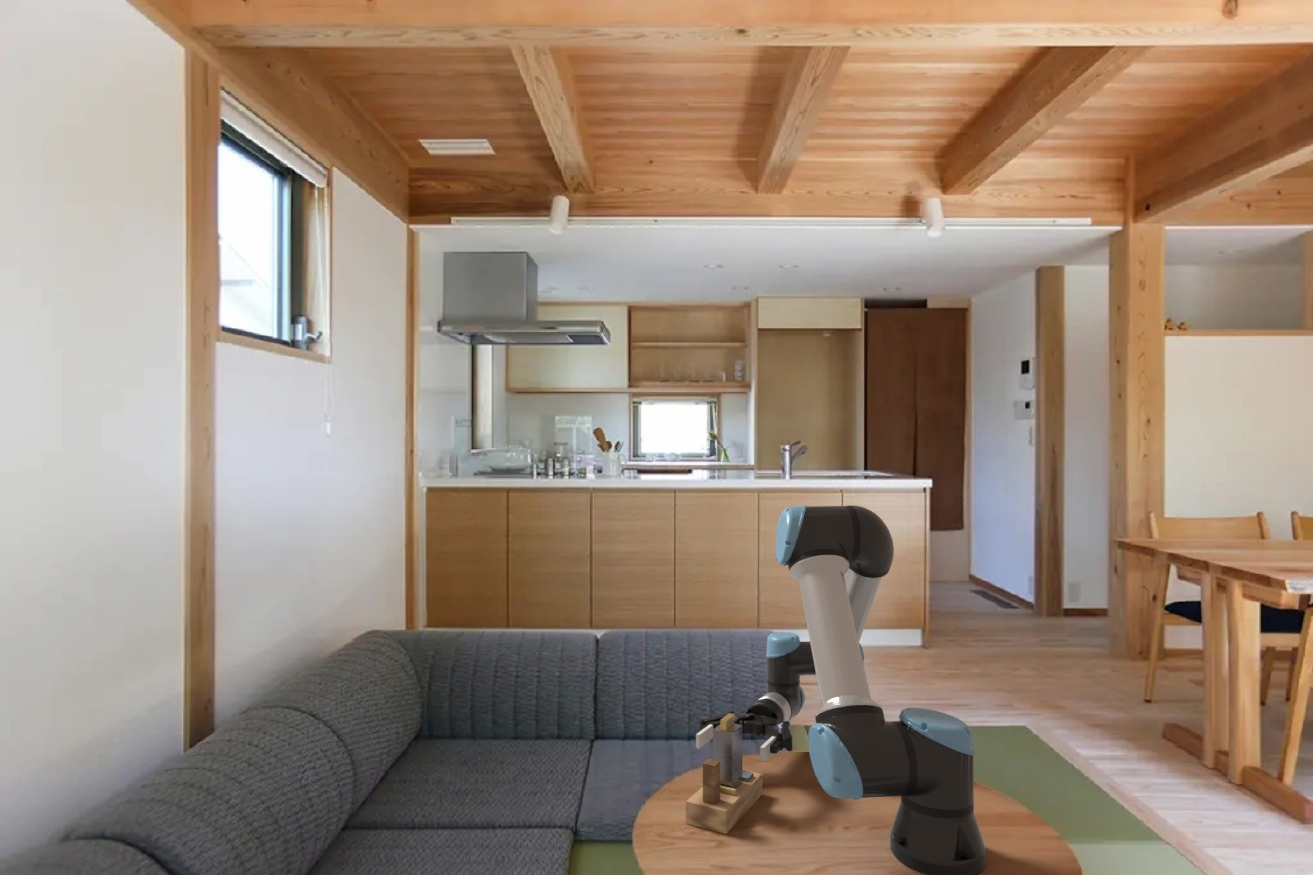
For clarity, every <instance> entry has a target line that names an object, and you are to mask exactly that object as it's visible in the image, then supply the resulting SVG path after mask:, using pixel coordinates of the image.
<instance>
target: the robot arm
mask: <svg viewBox="0 0 1313 875" xmlns="http://www.w3.org/2000/svg"><path fill="white" fill-rule="evenodd" d="M894 548H895V547H894V541H893V537H892V534H891V532H890V530H889V527H888V526H887V525H886V523H885V522H884V521H883V519H882V518H881V517H880V516H879V515H878V514H876V512H873V511H872V510H871V509H868V508H866V507H864V506H860V505H853V504H852V505H824V506H823V505H820V506H819V505H814V506H811V505H805V504H803V505H801V506H788V507H786V508H785V509H783V511H782V512H781V514H780V516H779V519H778V522H777V527H776V536H775V556H776V561H777V563H778V564H779V565H781V566H783V567H786V566H788V572H789V576H790V578H792V580H794V581H796V582H797V583H799V589H800V593H801V594H800V595H801V598H802V600H801V601H802V604H803V611H804V616H805V622H806V626H807V632H808V633H807V634H808V638H809V641H801V640H800V636H799V635H798V634H797V633H793V632H790V631H789V632H786V631H777V632H772V633H770V634H769V635H768V636H767V639H766V652H765V655H766V693H765V694H764V695H763V696H761V697H760V698H758V700H756V701H755V702H753V704H751V705H750V706H748V709H747V710H746V713H744V714H741V715H735V724H739V725H742V735H745V734H748V735H752V734H754V735H755V736H757V737H759V738H764V740H766V741H765V742H764V743H763V744H762V745H761V746H760V747H759V761H760V762H762V763H765V762H766V760H768V758H770V757H771V756H772V755H775V754H778V752H779V751H782V750H784V749H785V750H786V751H787V752H792V751H793V736H792V733H791V729H790V728H791V722H790V720H792V719H793V718H794V717H795V716H797V715H798V714H799V713H800V712H801V710H802V709H803V707H804V705H805V701H806V696H805V692H804V690H803V687H802V686H801V685H800V682H801V681H800V678H801V676H815V677H816V681H817V686H818V692H819V697H820V704H821V706H820V708H819V710H817V712H816V714H815V715H814V719H815V723H813V725H811V726H810V728H809V730H808V734H807V741H808V744H809V746H808V753H809V758H810V762H811V766H812V768H813V769H812V770H813V772H814V774H815V777H816V780H817V781H818V783H819V784H820V787H822V789H823V790H824V792H825V793H826V794H827V795H828V796H830V797H832V798H835V799H852V800H854V801H855V800H856V801H857V800H858V801H859V800H860V799H863V798H864V799H866V798H885V797H887V798H888V797H889V798H890V797H900V803H899V807H898V808H897V812H896V816H895V818H894V821H893V824H892V827H891V830H890V834H889V836H890V840H889V842H890V850H891V853H892V854H893V855H894V857H895V858H896V859H897V860H899V862H901V863H902V864H904V865H906V866H907V867H909V868H911V869H913V870H915V871H918V872H920V873H923V874H927V875H977V874H979V873H981V872H982V871H983V870H984V869H985V867H986V864H987V862H986V861H987V857H986V856H987V855H986V853H987V852H986V851H987V850H986V846H985V842H984V840H983V837H982V833H981V831H980V827H979V824H978V822H977V819H976V816H975V806H974V805H975V802H974V801H975V800H974V798H975V797H974V796H975V794H974V793H975V792H974V790H975V788H974V787H975V786H974V784H975V783H974V782H975V780H974V778H975V776H974V774H975V773H974V770H975V769H974V762H975V761H974V759H975V758H974V756H975V753H976V752H975V749H974V748H975V747H974V738H973V733H972V732H973V731H972V730H971V728H970V726H969V725H968V724H967V723H966V722H964V721H963V720H961V719H960V718H958V717H955V716H953V715H950V714H948V713H945V712H941V711H939V710H938V711H937V710H934V709H929V708H923V707H906V708H904V709H902V710H901V711H900V713H899V715H898V718H899V720H895V721H894V720H892V721H887V720H886V718H885V714H884V710H883V707H882V706H881V705H880V704H878V703H877V702H876V701H874V700H873V699H872V697H871V691H870V688H869V683H868V678H867V674H866V669H865V666H864V661H865V656H864V655H865V653H864V649H863V647H862V645H861V643H860V640H861V638H862V635H863V632H864V628H865V626H866V623H867V620H868V617H869V615H870V612H871V609H872V606H873V603H874V600H875V598H876V595H877V591H878V588H879V585H880V583H881V579H882V578H885V577H886V576H887V575H888V574H889V573H890V570H891V567H892V563H893V560H894V553H895V549H894ZM727 714H736V712H735V711H733V710H731V711H728V712H726V713H723V714H720V715H716V716H713V717H708V718H704V719H699V730H698V732H697V733H696V734H695V748H696V749H699V750H700V749H701V748H702V747H704V746H705V745H706V744H707V743H708V742H710V741H711V740H713V729H714V728H716V727H717V726H718V725H720V724H721V719H722V718H723V717H725V716H726V715H727Z"/></svg>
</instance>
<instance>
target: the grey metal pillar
mask: <svg viewBox="0 0 1313 875" xmlns="http://www.w3.org/2000/svg"><path fill="white" fill-rule="evenodd" d="M735 714H736V713H735ZM735 714H727V715H726V716H725V717H723V718H722V719H721V724H720V725H718V726H717V727H716V728H714V729H713V739H712V760H716V761H720V785H721V786H725V787H730V788H734V789H736V788H737V787H738V786H739V785H740V784H741V783H742V770H743V734H742V725H739V724H735V716H736V715H735Z"/></svg>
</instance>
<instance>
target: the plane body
mask: <svg viewBox="0 0 1313 875" xmlns="http://www.w3.org/2000/svg"><path fill="white" fill-rule="evenodd" d="M762 795H763V773H760V772H756V771H751V770H745V769H742V783H741V784H740V785H739V786H738V787H737V788H736V789H734V788H730V787H725V786H721V785H720V761H716V760H713V758H707V759H706V760H705V761H704V762H702V786H701V787H700V788H699V789H698V790H697V791H696V792H695V793H693V795H691V796H690V797H689V798H688V799H687V800H686V801H685V824H686V825H690V826H694V827H699V828H702V829H706V830H710V831H713V832H716V833H720V834H724V835H727V834H728V833H729V831H730V830H731V829H733V827H734V826H735V825H736V824H737V823H738V822H739V820H741V819H742V817H744V815H745V814H746V813H747V812H748V811H749V810H750V808H752V806H753V805H754V804H755V803H756V802H757V801H758V800H759V799H760V798H761V796H762Z"/></svg>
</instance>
